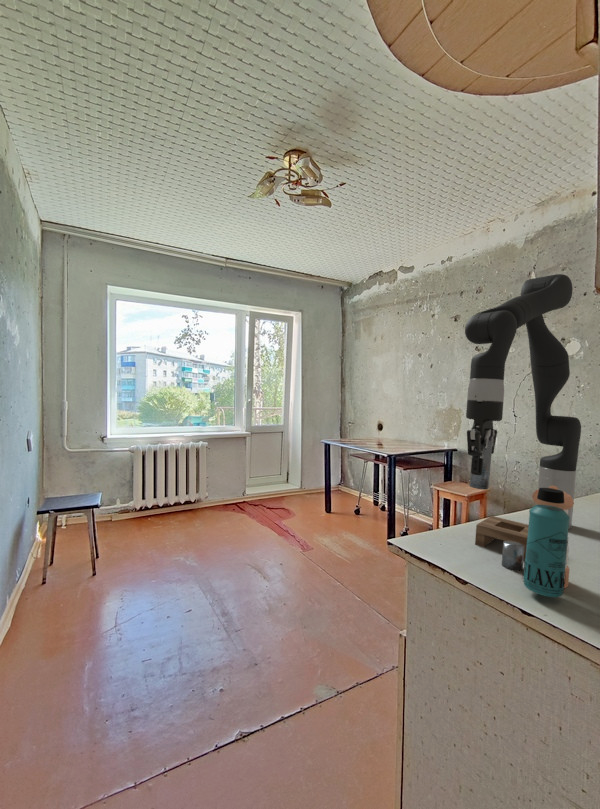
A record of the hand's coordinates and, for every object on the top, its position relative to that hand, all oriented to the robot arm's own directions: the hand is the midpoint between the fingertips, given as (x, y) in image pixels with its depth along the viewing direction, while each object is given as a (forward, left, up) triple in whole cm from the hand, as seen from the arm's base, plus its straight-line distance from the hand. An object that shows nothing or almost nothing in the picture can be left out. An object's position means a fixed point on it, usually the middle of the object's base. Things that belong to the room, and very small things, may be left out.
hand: (479, 473), depth 87 cm
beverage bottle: (+10, +15, -19) cm, 27 cm away
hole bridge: (-13, +4, -19) cm, 23 cm away
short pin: (0, +8, -19) cm, 21 cm away
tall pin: (0, 0, -3) cm, 3 cm away
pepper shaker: (+1, +14, -19) cm, 24 cm away
